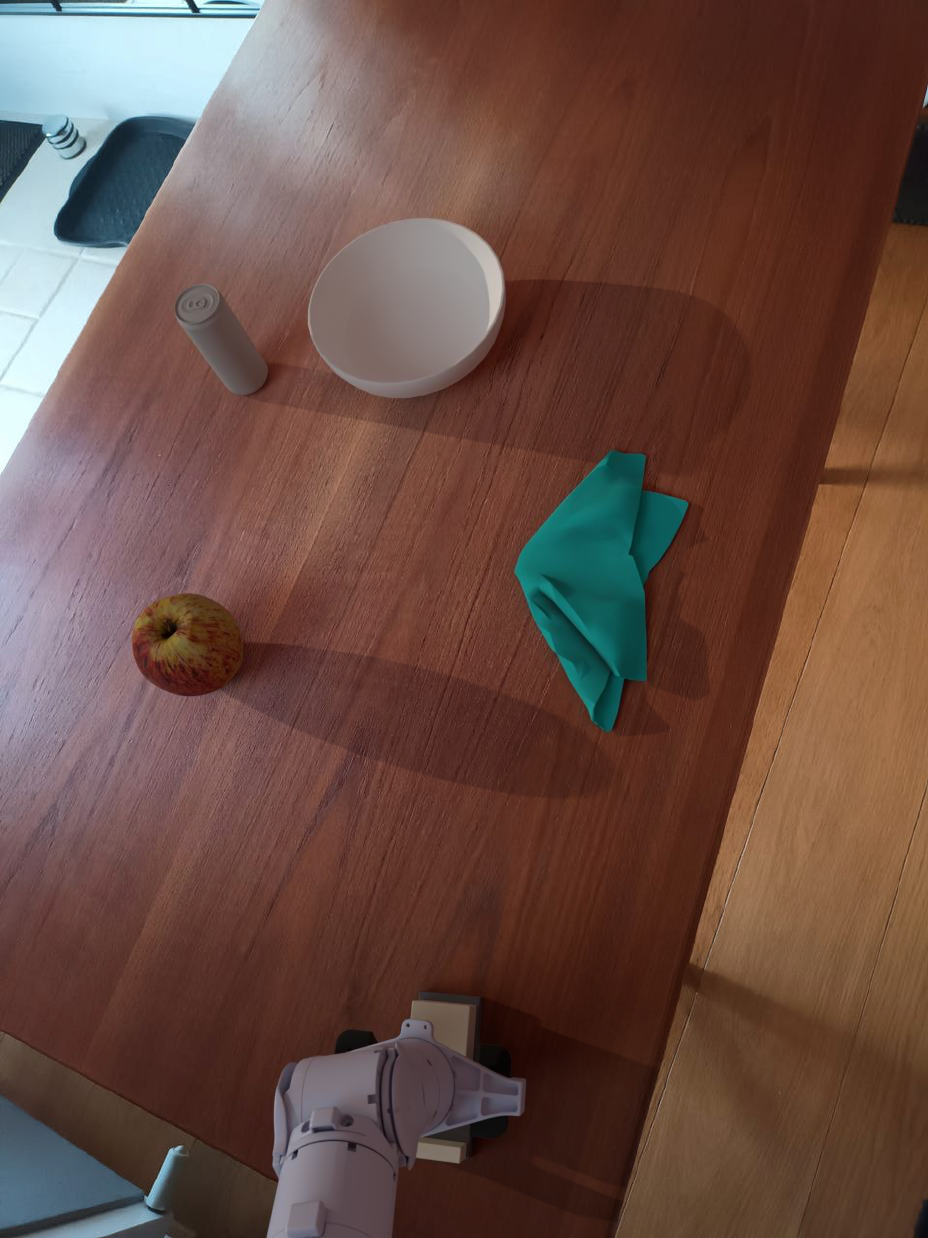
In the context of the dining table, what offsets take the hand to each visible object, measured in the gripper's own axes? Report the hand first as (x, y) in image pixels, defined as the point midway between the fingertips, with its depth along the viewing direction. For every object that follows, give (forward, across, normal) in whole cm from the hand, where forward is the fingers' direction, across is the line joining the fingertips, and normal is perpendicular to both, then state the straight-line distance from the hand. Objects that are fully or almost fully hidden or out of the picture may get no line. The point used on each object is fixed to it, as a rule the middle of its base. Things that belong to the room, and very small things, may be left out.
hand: (441, 1073), depth 71 cm
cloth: (+2, -10, -40) cm, 42 cm away
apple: (+2, +25, -32) cm, 41 cm away
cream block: (+2, 0, 0) cm, 2 cm away
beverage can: (+2, +27, -63) cm, 69 cm away
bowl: (+2, +9, -67) cm, 68 cm away
